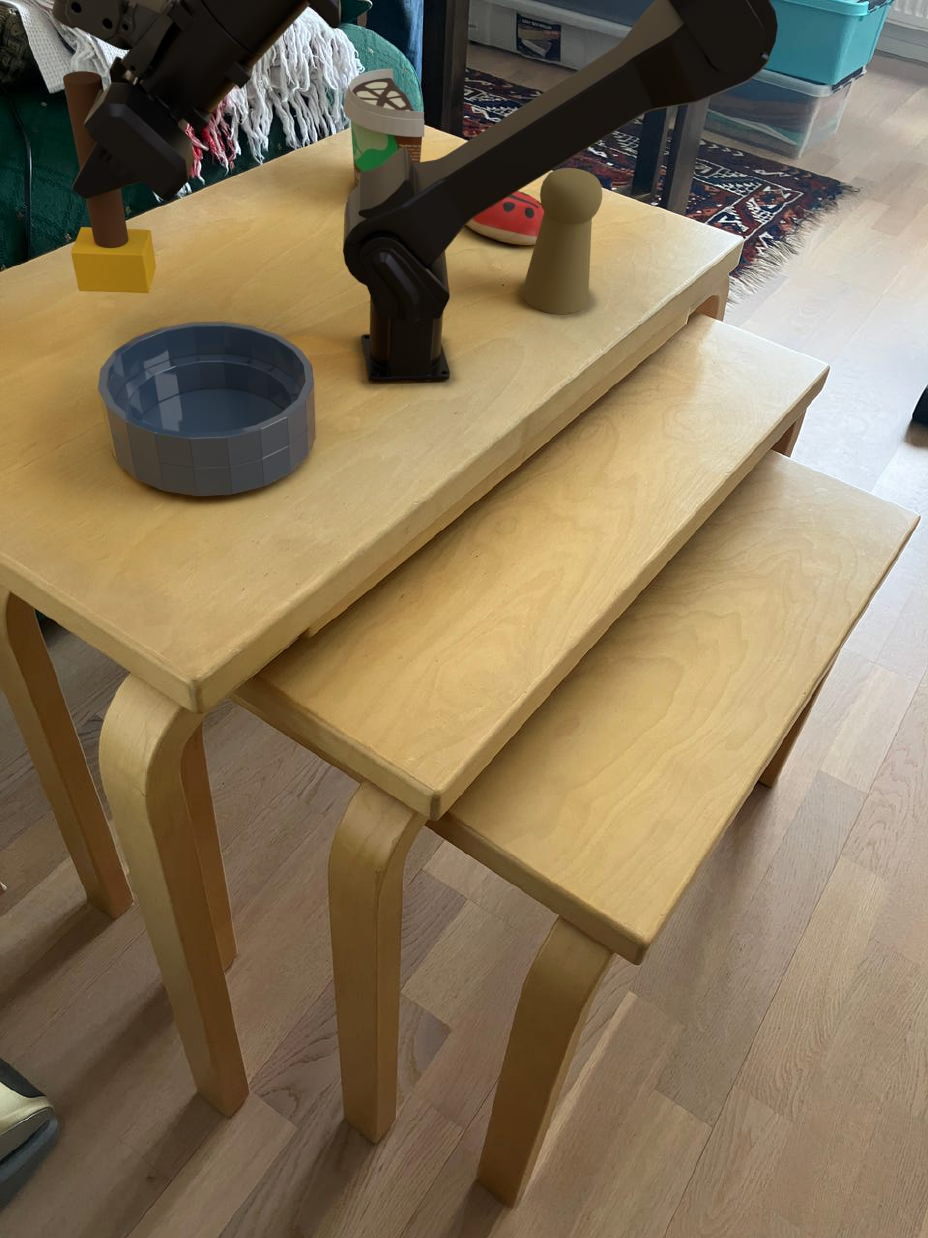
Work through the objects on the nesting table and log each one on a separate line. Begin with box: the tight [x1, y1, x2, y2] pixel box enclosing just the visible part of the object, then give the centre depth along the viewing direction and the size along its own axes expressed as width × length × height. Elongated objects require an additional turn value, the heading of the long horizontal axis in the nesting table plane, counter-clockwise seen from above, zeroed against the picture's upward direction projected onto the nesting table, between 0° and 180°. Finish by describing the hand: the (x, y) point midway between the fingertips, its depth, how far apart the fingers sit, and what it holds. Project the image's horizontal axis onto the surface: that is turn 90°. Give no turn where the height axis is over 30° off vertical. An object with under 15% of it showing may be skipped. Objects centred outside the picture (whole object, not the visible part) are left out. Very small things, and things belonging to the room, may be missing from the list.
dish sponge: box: [62, 70, 157, 294], centre depth 71 cm, size 5×4×14 cm
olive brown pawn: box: [521, 167, 603, 315], centre depth 88 cm, size 6×6×11 cm
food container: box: [342, 68, 425, 189], centre depth 100 cm, size 12×6×10 cm, turn 17°
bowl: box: [97, 321, 317, 497], centre depth 71 cm, size 14×14×6 cm
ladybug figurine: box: [465, 190, 544, 246], centre depth 99 cm, size 7×10×4 cm
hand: (81, 184), depth 71 cm, fingers closed on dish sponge, 2 cm apart
